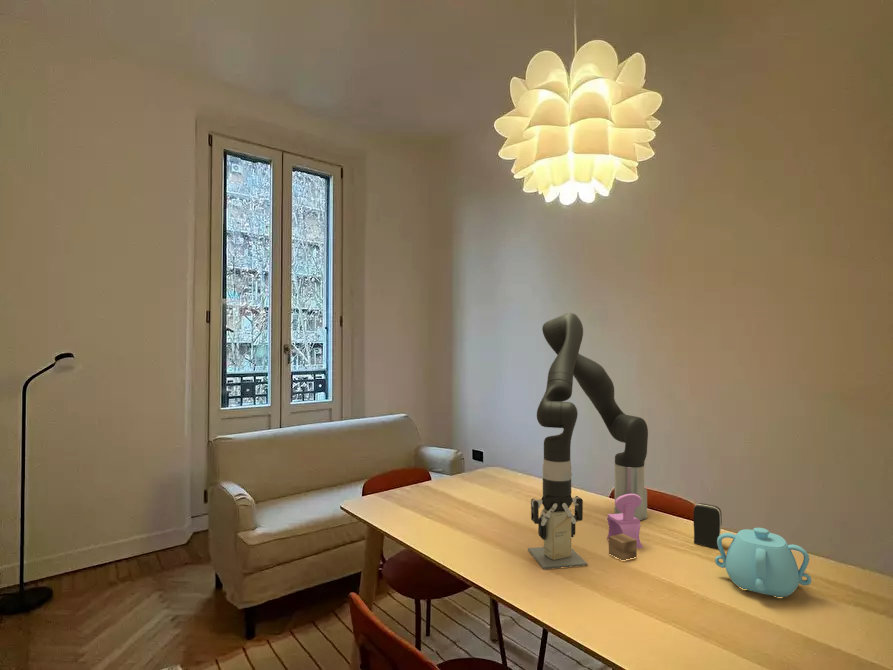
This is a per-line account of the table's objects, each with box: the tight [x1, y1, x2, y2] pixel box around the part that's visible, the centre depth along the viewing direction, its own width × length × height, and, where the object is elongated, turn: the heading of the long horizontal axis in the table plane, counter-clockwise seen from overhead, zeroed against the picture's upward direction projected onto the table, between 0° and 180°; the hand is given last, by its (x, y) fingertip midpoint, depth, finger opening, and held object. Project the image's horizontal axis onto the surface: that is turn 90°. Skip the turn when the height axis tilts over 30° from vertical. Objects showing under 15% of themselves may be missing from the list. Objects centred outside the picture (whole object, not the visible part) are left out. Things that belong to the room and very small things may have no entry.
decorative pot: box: [714, 527, 812, 598], centre depth 122 cm, size 16×16×14 cm
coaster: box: [527, 546, 589, 570], centre depth 137 cm, size 12×12×1 cm
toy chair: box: [606, 494, 644, 549], centre depth 147 cm, size 8×9×15 cm
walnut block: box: [608, 533, 638, 560], centre depth 139 cm, size 5×5×5 cm
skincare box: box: [543, 509, 572, 560], centre depth 137 cm, size 6×4×12 cm
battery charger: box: [692, 502, 723, 550], centre depth 146 cm, size 7×4×11 cm, turn 49°
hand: (556, 537), depth 137 cm, fingers open, 7 cm apart
